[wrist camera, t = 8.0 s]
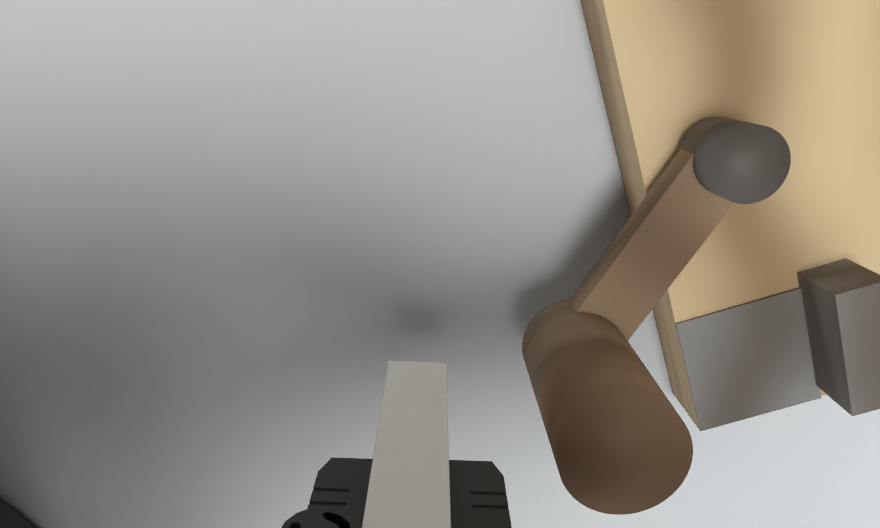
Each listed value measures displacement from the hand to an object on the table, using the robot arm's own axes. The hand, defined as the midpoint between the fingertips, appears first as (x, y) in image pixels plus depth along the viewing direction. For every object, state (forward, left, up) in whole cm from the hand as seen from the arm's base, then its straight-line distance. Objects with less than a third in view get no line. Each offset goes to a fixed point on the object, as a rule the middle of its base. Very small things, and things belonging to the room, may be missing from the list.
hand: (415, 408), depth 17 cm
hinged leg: (+7, +1, -3) cm, 8 cm away
